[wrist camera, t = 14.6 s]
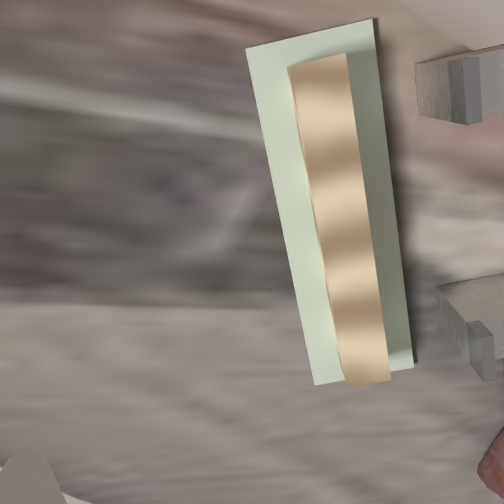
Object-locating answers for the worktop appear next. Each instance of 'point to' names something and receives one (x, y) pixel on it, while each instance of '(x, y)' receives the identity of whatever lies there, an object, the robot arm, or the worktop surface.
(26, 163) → the worktop surface
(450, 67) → the post
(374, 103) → the mat
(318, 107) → the rail
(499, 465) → the food
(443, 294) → the post
